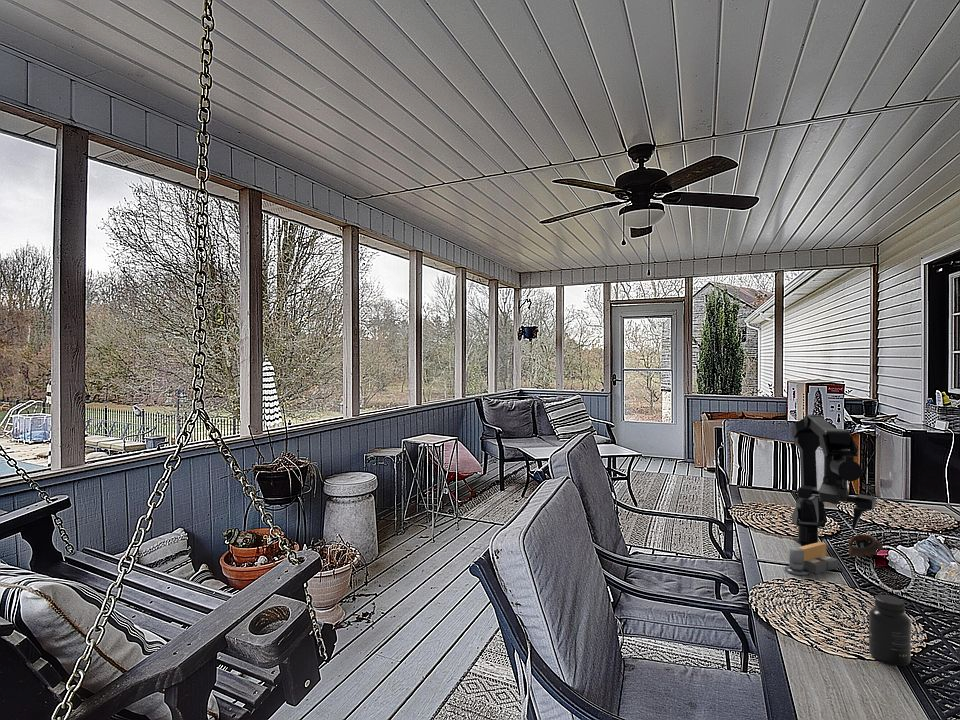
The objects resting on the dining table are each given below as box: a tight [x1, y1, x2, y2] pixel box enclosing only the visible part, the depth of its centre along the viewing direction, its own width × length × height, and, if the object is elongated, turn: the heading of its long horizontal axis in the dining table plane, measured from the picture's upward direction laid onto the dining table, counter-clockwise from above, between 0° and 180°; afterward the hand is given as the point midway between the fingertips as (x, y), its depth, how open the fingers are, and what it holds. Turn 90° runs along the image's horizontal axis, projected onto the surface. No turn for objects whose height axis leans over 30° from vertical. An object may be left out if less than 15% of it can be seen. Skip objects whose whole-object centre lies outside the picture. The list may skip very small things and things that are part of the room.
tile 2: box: [815, 555, 839, 571], centre depth 162 cm, size 7×5×3 cm
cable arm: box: [788, 541, 827, 564], centre depth 159 cm, size 15×4×4 cm, turn 118°
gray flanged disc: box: [784, 561, 810, 577], centre depth 156 cm, size 6×6×3 cm
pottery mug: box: [848, 533, 884, 559], centre depth 167 cm, size 12×9×8 cm
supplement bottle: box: [868, 594, 912, 667], centre depth 111 cm, size 7×7×12 cm
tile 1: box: [804, 559, 828, 574], centre depth 159 cm, size 7×5×3 cm
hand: (834, 526), depth 159 cm, fingers open, 9 cm apart
